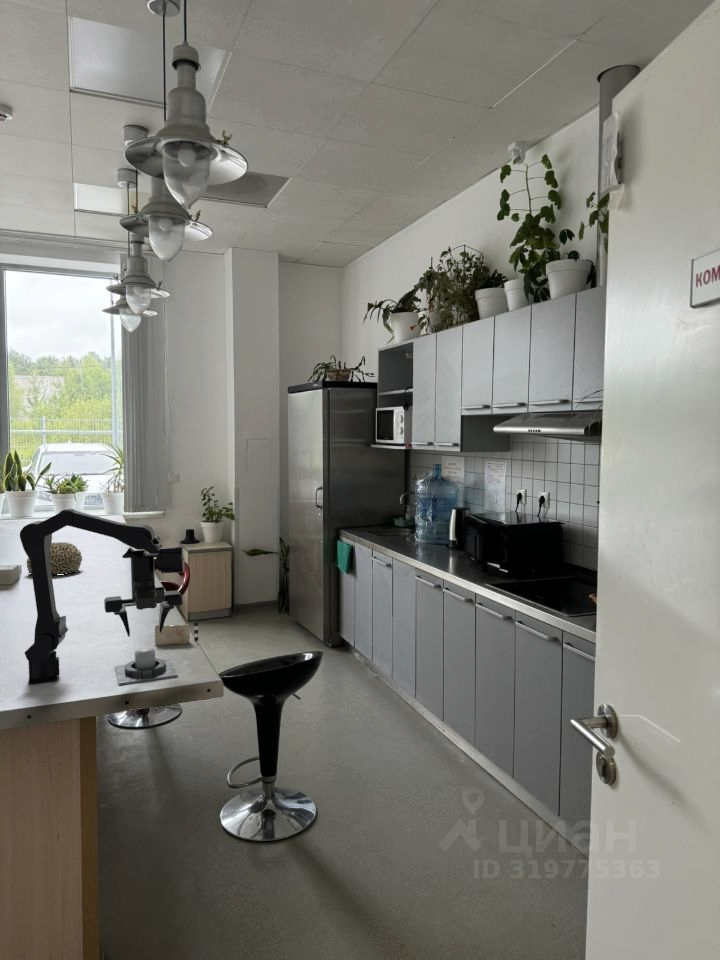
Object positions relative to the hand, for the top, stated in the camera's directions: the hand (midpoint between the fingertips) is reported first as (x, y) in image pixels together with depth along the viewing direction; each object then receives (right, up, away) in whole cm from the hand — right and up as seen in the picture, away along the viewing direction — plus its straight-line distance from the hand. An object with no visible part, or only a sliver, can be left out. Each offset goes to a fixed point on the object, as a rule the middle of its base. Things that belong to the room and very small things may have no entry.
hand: (144, 634), depth 171 cm
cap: (0, -9, 0) cm, 9 cm away
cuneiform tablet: (+1, -9, +26) cm, 27 cm away
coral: (-83, -3, +132) cm, 156 cm away
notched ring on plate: (0, -10, +1) cm, 10 cm away
